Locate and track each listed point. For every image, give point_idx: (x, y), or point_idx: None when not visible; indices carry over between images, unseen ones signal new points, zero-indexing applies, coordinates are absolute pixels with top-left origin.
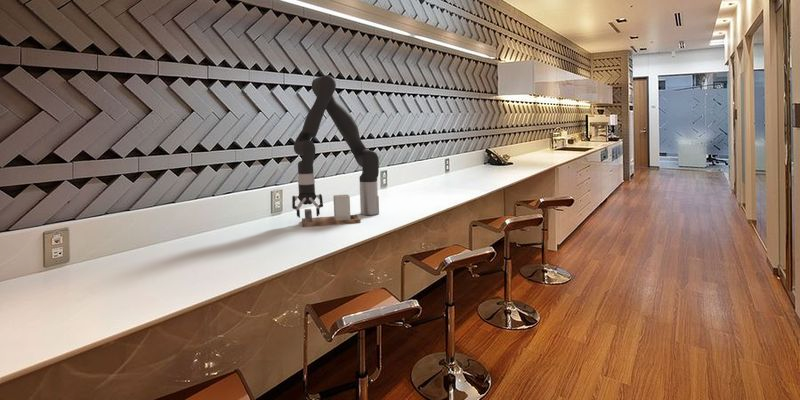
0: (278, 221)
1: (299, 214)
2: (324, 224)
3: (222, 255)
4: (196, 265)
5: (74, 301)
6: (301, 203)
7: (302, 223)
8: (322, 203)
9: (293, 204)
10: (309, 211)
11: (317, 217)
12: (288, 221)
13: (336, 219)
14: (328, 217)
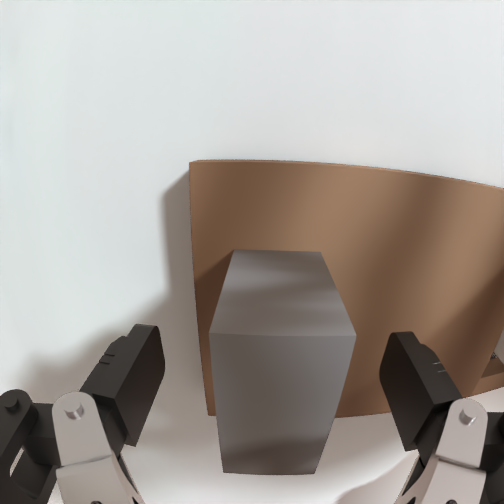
0: (6, 89)
1: (149, 397)
2: None
3: (56, 494)
4: (50, 500)
5: None
6: (119, 501)
7: (205, 380)
8: (500, 485)
9: (30, 491)
10: (285, 474)
11: (408, 180)
12: (67, 98)
13: (498, 354)
14: (498, 237)
